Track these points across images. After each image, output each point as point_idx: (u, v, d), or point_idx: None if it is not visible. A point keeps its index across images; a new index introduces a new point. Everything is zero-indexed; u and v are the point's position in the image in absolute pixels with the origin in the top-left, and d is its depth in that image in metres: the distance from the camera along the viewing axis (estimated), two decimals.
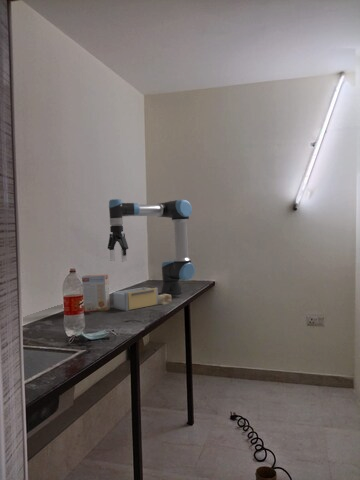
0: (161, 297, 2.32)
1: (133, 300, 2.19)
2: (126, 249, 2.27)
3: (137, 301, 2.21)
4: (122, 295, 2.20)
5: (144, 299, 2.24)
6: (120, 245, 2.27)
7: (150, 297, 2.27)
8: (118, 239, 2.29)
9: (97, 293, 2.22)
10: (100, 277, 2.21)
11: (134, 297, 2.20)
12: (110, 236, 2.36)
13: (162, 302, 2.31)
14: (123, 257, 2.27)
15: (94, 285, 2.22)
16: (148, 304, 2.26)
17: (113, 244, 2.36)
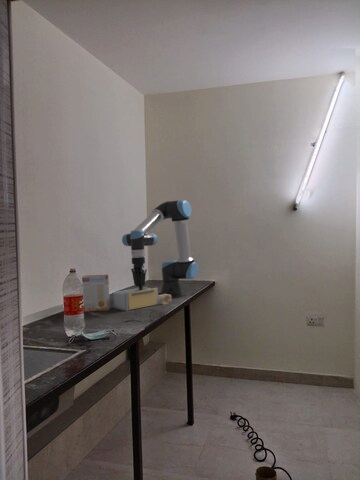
0: (161, 297, 2.32)
1: (133, 300, 2.19)
2: None
3: (137, 301, 2.21)
4: (122, 295, 2.20)
5: (144, 299, 2.24)
6: (138, 280, 2.24)
7: (150, 297, 2.27)
8: (138, 273, 2.23)
9: (97, 293, 2.22)
10: (100, 277, 2.21)
11: (134, 297, 2.20)
12: (132, 270, 2.28)
13: (162, 302, 2.31)
14: None
15: (94, 285, 2.22)
16: (148, 304, 2.26)
17: None
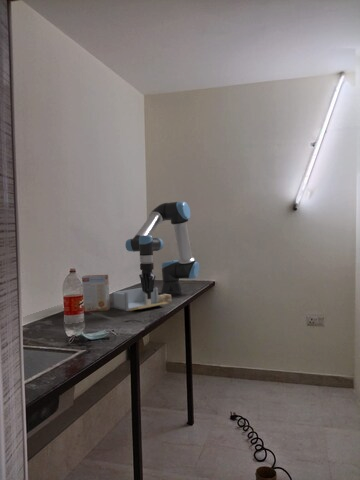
0: (161, 297, 2.32)
1: None
2: (150, 292, 2.19)
3: None
4: (122, 295, 2.20)
5: None
6: (146, 286, 2.17)
7: None
8: (147, 280, 2.17)
9: (97, 293, 2.22)
10: (100, 277, 2.21)
11: None
12: (140, 276, 2.22)
13: None
14: (147, 300, 2.18)
15: (94, 285, 2.22)
16: None
17: None
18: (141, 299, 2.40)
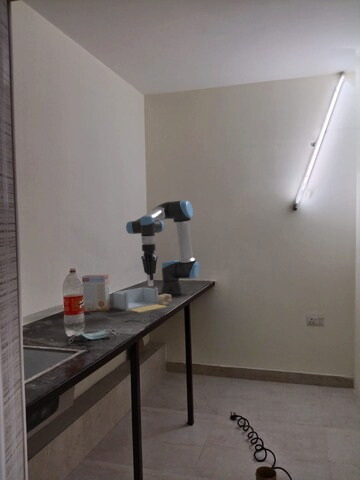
0: (161, 297, 2.32)
1: None
2: None
3: None
4: (122, 295, 2.20)
5: None
6: (148, 267, 2.16)
7: None
8: (149, 261, 2.15)
9: (97, 293, 2.22)
10: (100, 277, 2.21)
11: None
12: (142, 258, 2.20)
13: (162, 302, 2.31)
14: (150, 282, 2.17)
15: (94, 285, 2.22)
16: None
17: (148, 265, 2.18)
18: (141, 299, 2.40)
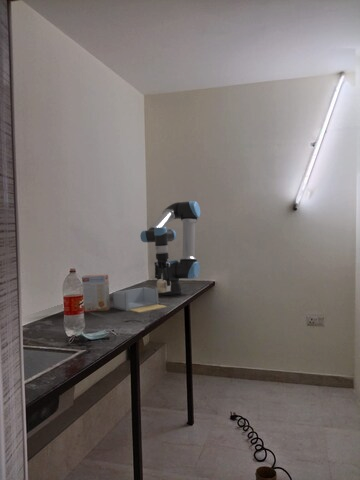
0: (161, 283, 2.32)
1: None
2: (170, 280, 2.32)
3: None
4: (122, 295, 2.20)
5: None
6: (165, 274, 2.31)
7: None
8: (164, 268, 2.31)
9: (97, 293, 2.22)
10: (100, 277, 2.21)
11: None
12: (155, 264, 2.38)
13: (162, 288, 2.31)
14: (167, 287, 2.31)
15: (94, 285, 2.22)
16: None
17: (160, 272, 2.37)
18: (141, 299, 2.40)
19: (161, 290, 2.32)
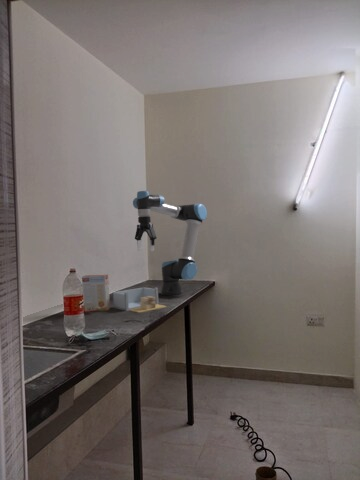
0: (144, 300, 2.17)
1: None
2: (154, 239, 2.34)
3: None
4: (122, 295, 2.20)
5: None
6: (148, 235, 2.35)
7: None
8: (146, 229, 2.36)
9: (97, 293, 2.22)
10: (100, 277, 2.21)
11: None
12: (137, 227, 2.43)
13: (145, 305, 2.16)
14: (151, 247, 2.34)
15: (94, 285, 2.22)
16: None
17: (141, 234, 2.43)
18: None
19: (144, 307, 2.17)
